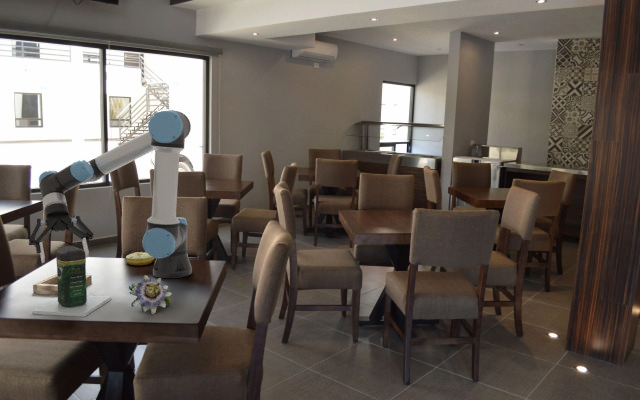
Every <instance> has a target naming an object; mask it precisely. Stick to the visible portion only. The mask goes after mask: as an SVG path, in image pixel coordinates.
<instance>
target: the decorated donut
mask: <svg viewBox="0 0 640 400" xmlns="http://www.w3.org/2000/svg"><path fill="white" fill-rule="evenodd" d="M153 260H154V257H152V256H150V255H149V254H148V253H147V252H146V251H144V252H143V251H140V252H139V251H137V252H131V253H129V254H127V255H126V257H125V261H126V263H127V264H128V265H132V266H145V265H149V264H151V263H152V262H153Z"/></svg>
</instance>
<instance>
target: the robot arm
mask: <svg viewBox="0 0 640 400" xmlns="http://www.w3.org/2000/svg"><path fill="white" fill-rule="evenodd" d="M191 126H192V125H191V121H190V119H189V117H188V116H187V115H186V114H184V113H183V112H181V111H178V110H173V109H161V110H159V111H156V112H155V113H154V114H152V116H151V117H150V119H149V121H148V125H147V128H148V130H147V131H145V132H143V133H141V134H139V135H137V136H136V137H133V138H132V139H130V140H127V141H126V142H124V143H122V144H119V145H118V146H115V147H113V148H112V149H110V150H108V151H106V152H104V153H102V154H101V155H98V156H96V157H95V158H93V159H90V160H89V161H87V160H85V159H79V160H78V161H75V162H73V163H71V164H69V165H68V166H66V167H64V168H63V169H61V170H59V171H57V170H49V171H47V170H46V171H43V172H42V173H41V174H39V177H38V183H39V184H38V187H39V190H40V193H41V197H42V198H41V200H42V204H43V205H42V206H43V209H44V216H45V220H44V219H41V218H37V219H36V224H35V227H34V229H33V231H32V233H31V234H30V237H29V239H28V245H29V246H34V248H35V252H36V254H37V255H38V254H39V255H40V261H41V264H43V263H45V259H46V256H45V252H44V245H43V242H44V240H45V239H46V238H47V237H48V236H49V235H50V234H51V233H52V232H53V231H54V232H59V231H60V232H65V230H66V231H67V232H69V233H72V234H73V235H75V236H77V237H78V238H79V239H81V240H82V241H81V242H82V247H83V250H84V251H85V255H86V259H87V258H89V256H90V255H89V254H90V251H89V249H90V246H91V242H90V240H93V239H94V232H93V231H91V229H90V228H89V227H88V226H87V225H86V224H85V223H84V222H83V221H82V220H81V217H80V216H79V215H76V216H75V217H71V216H70V212H69V208H68V204H67V199H66V192H68V191H70V190H72V189H74V188H75V187H77V186H78V185H83V184H86V183H92V182H97V181H99V180H100V179H102V178H103V177H105V176H106V175H108V174H110V173H112V172H114V171H115V170H118V169H120V168H122V167H124V166H125V165H128V164H129V163H132V162H134V161H135V160H137V159H139V158H142V157H143V156H145V155H147V154H149V153H152V152H153V151H154V167H153V168H154V169H153V184H152V185H153V186H152V205H151V216H150V217H148V219H146V220H147V221H146V231H145V232H144V235H143V237H142V241H141V242H142V247H143V250H144V252H147V253H148V254H149V255H150V256H152V257H154V258H155V261H154V264H153V268H152V276H153V277H156V278H158V279H159V278H161V279H179V278H184V277H187V276H190V275H192V273H193V272H192V271H193V267H192V264H191V261H190V259H189V256H188V221H187V219H186V218H185V217H180V216H179V217H177V204H178V203H177V201H178V186H179V185H178V184H179V182H178V181H179V172H180V171H179V168H180V155H181V154H180V153H181V152H182V151H183V150H185V143H186V142H185V141H186V138H187V137H188V136H190V135H189V134H190V132H191V131H192V130H191V128H192V127H191ZM44 225H46V226H47V227H46V228H45V229H44V230H43V232H42V233H40V230H41V228H42V227H43V226H44ZM75 225H76V226H77V227H76V226H75ZM39 233H40V235H39V236H38V234H39ZM37 236H38V237H37Z"/></svg>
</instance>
